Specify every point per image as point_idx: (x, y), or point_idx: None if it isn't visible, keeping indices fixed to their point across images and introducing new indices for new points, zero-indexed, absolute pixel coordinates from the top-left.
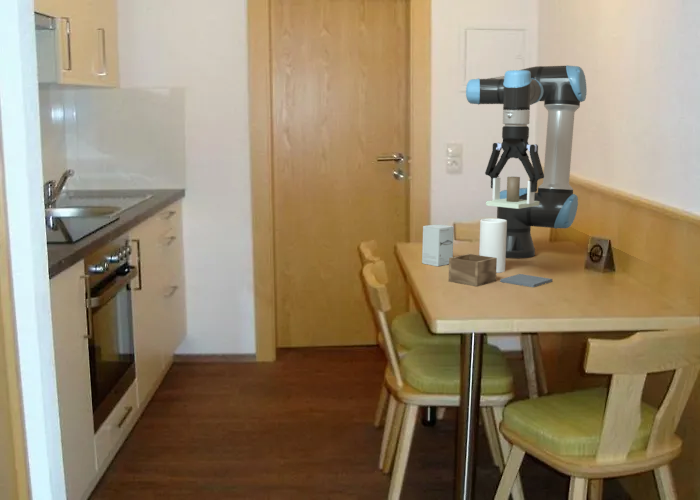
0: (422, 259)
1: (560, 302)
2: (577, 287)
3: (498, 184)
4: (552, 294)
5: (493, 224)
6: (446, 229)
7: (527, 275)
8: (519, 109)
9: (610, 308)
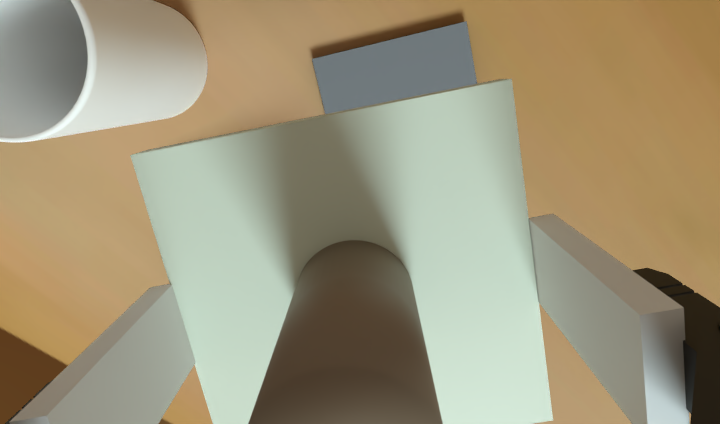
0: None
1: (699, 272)
2: (598, 22)
3: (111, 397)
4: (608, 203)
5: (83, 114)
6: None
7: (355, 57)
8: None
9: None
